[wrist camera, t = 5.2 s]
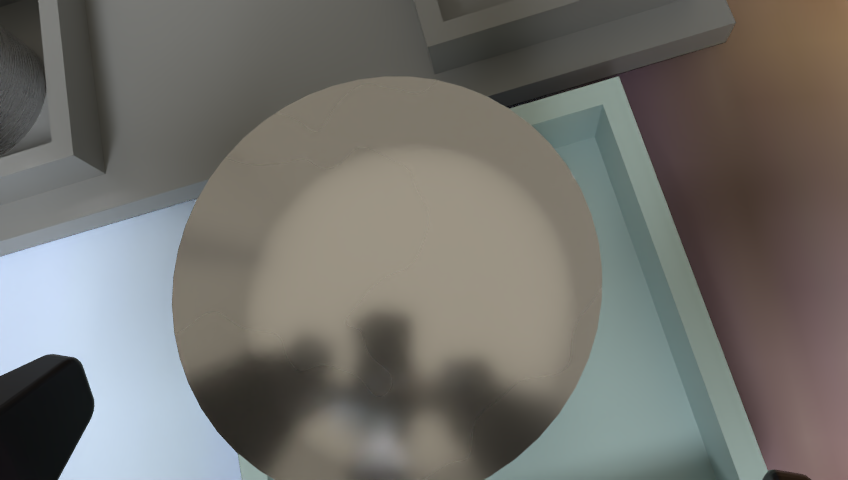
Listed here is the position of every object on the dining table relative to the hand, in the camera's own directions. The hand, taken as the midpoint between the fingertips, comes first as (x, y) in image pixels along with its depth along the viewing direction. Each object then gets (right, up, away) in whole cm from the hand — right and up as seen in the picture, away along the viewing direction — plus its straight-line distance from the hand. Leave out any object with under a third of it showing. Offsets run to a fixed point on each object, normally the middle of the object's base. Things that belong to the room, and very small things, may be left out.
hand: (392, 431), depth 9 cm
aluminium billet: (+1, -1, +9) cm, 9 cm away
